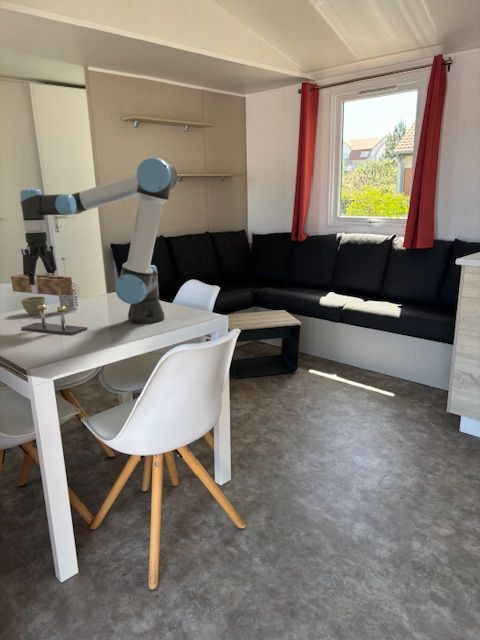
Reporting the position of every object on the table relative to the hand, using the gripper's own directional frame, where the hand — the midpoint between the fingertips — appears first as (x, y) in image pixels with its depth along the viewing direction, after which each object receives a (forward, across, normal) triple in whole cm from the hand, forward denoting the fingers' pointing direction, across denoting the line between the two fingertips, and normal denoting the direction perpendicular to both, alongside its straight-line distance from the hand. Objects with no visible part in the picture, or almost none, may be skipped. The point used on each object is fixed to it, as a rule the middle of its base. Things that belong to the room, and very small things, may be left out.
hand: (43, 291), depth 183 cm
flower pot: (+16, -18, -26) cm, 35 cm away
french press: (+15, -28, -14) cm, 35 cm away
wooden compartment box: (0, 0, 0) cm, 0 cm away
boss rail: (+15, 0, +4) cm, 16 cm away
